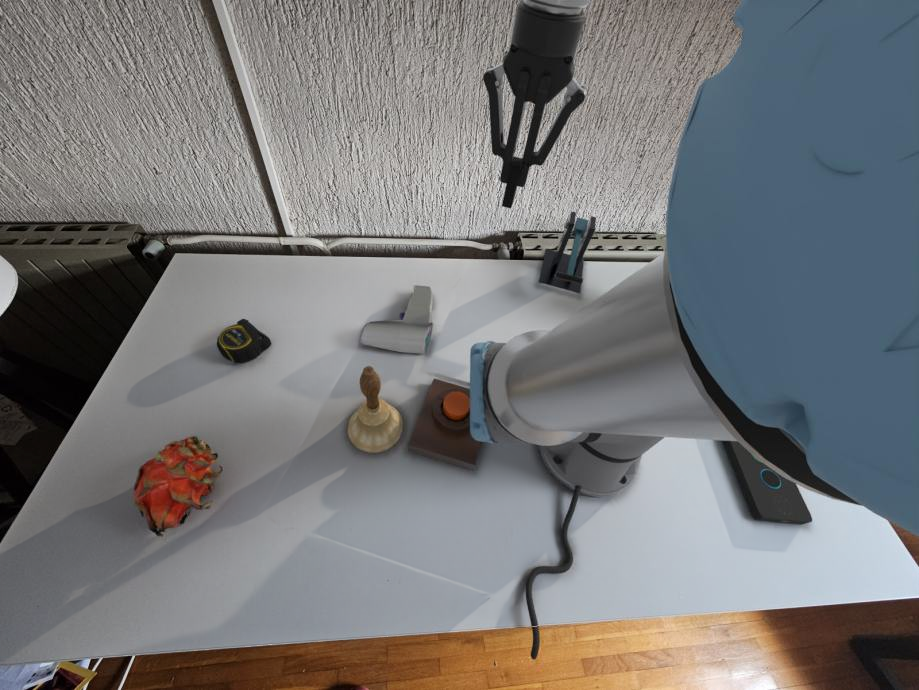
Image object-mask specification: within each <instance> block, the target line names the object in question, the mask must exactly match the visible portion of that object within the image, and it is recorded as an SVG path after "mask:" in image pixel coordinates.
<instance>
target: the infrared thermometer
mask: <svg viewBox="0 0 919 690" xmlns="http://www.w3.org/2000/svg"><path fill="white" fill-rule="evenodd" d="M407 303H408V304H407V308H406V310H405V312H400V313H399V319H391V320H390V319H389V320H374V321H373V320H372V321H369V322H367V323H366V324H365V325H364V326H363V328H362V330H361V333H360V336H359V342H360V344H361V345H364V346H370V347H374V348H378V349H384V350H388V351H394V352H398V353H407V354H421V355H425V354H426V353H427V351H428V348H429V345H430V342H431V337H432V332H433V327H434V322H432V319H433V315H432V312H433V311H432V310H433V291H432V288H431V287H430V286H427V285H418V284H417V285H416V284H415V285H413V293H412V295H411V297H410V299H409V301H408V302H407Z"/></svg>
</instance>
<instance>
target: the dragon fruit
mask: <svg viewBox="0 0 919 690" xmlns="http://www.w3.org/2000/svg"><path fill="white" fill-rule="evenodd" d="M212 451H213V449H212V447H211V446H210V445H209V444H208V443H206V442H205V441H203V440H202V439H201V438H199V436H197V435H192V436H188V437H185V438H184V439H181V440H179V441H178V440H173V441H170V442H168V443H167V444H165V446H164V449H162V450H159V451H158V452H157V454H156V455H155V456H154V457H153V458H151V459H150V460H148V461H146V462H144V463H143V464H141V466H140V467H139V468H138V471H137V476H136V480H135V482H134V485H133V490H134V492H133V503H134V505H135V506H136V507H137V508H138V511H139V513H140V515H141V517H143V518H144V517H145V520H146V522H147V526H148V529H149V530H150V532H152V533H153V534H155V536H157V537H159V538H160V537H161V538H162V537H164V534H165V533H167V531H166V530H168V529H175V528H177V527H179V526H181V525H184V524H185V523H186V520H187V519H188V517H190V515H191V512H192V509H190V508H193V509H195V510H198V511H203V510H209V509H210V508H211V507H212V505H213V503H214V500H211V501H210V500H209V501H207V502H206V503H204V504H201V501H200V498H201V496H209V495H211V494H212V493H213V492H214V483H213V478H217V477H219V476H221V474H222V473H223V471H224V467H223V466H222V465H218V466H219V467H218V468H220V469H221V470H219V471H214V470H213V469H212V467H211V465H213V464H215V463H216V462H217V460H218V458H219V454H218V452H215V453H212ZM188 509H190V510H189V511H188ZM173 533H174V534H175V532H172V534H173Z"/></svg>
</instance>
